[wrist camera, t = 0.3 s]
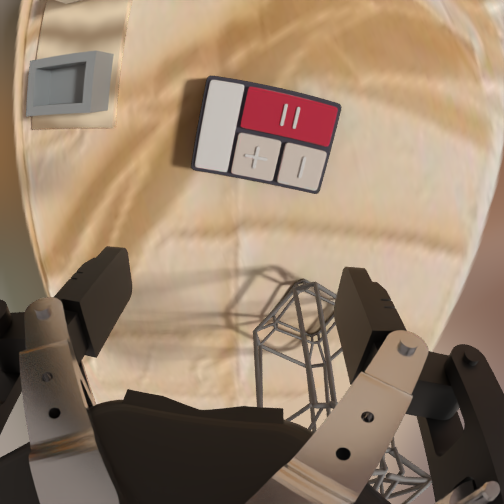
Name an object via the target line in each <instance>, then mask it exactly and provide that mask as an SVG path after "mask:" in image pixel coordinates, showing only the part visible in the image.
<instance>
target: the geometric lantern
mask: <svg viewBox="0 0 504 504" xmlns="http://www.w3.org/2000/svg"><path fill="white" fill-rule="evenodd" d="M302 282H303V285H300V286H298V284H300V283H302ZM305 283H307V284H305ZM312 286H313V287H314V290H315V293H313V292H311V291H309V290H308V289H309V288H310V287H312ZM319 290H322V291H323V292H325V293H327V294H328V295H330V296H332V297H333V298H335V299H336V296H337V295H336V294H334V293H333V292H331V291H330V290H328V289H326V288H325V287H323V286H322V285H320V284H318V283H317V282H309V281H307V280H305V279H302V280H300V281H298V282H296V283H295V284H294V285H293V287H292V288H291V290H290V291H289V292H288V294H287V295H286V296H285V297H284V298H283V300H282V301H281V302H280V303H279V304H278V305H277V306H276V307H275V308H274V309H273V310H272V311H271V312H270V314H269V315H268V316H267V317H266V318H265V319H264V320H263V321H262V322H261V323H260V324H259V325H258V326H257V327H256V328H255V329H254V331H253V341H254V360H255V379H256V397H257V407H262V408H263V385H262V349H265V350H267V351H269V352H271V353H273V354H276V355H278V356H280V357H282V358H284V359H287V360H289V361H291V362H293V363H296V364H298V365H300V366H303V367H305V368H306V373H307V382H308V391H309V401H310V403H309V404H308V405H306V406H305V407H303V408H302V409H301V410H299V411H298V412H296V413H295V414H293V415H292V416H291V417H289V418H287V419H286V420H287V421H291V420H293V419H294V418H296V417H297V416H299V415H300V414H301V413H303V412H304V411H306V410H307V409H309V408H310V411H311V422H312V423H311V425H310V426H309V428H308V429H309V430H310V431H311V429H312V432H313V433H315V432H316V421H317V419H318V417H319V415H320V414H321V412H322V410H323V408H326V411H327V417H328V416H329V414H330V413H331V412H330V408H333V409H334V408H335V407H336V405H337V404H338V402H337V400H336V392H335V385H334V377H333V370H332V364H331V361H332V360H333V359H334V358H335V357H336V356H337V355H338V354H340V353H341V352H342V347H341V348H340V349H339V350H338V351H337V352H336V353H334V354H333V355H332V356H331V357H330V351H329V345H328V339H327V334H328V333H329V332H330V331H331V329H332V328H333V327H334V326H335V325H336V322H334V323H333V325H332V326H331V327H330V328H329V329H328V330H327V332H326V326H327V324H328V323H329V322H330V321H331V320H332V319H333V317H334V314H333V315H332V316H331V317H330V318H329V320H328V321H327V322H326V323H325V321H324V315H323V310H322V304H321V299H322V300H324V301H326V302H328V303H330V304H332V305H335V303H334V302H332V301H330V300H328V299H326V298H324V297H322V296H320V293H319ZM304 291H305V292H307V293H309V294H311V295H313V296H316V302H317V308H318V314H319V320H320V327H321V329H320V330H319V331H318V332H317V333H314V334H312V335H311V334H309V333H306V332H305V328H304V323H303V318H302V313H301V307H300V302H299V298H298V294H299V293H300V292H304ZM292 295H293V298H292V299H291V300H290V302H289V303H288V304H287V306H286V307H285V308H284V310H283V311H282V312H281V314H280V315H279V316H278V317H277V319H276V317H275V314H276V313H277V312H278V310H279V309H280V308H281V307H282V305H283V304H284V303H285V302H286V301H287V300H288V299H289V298H290V297H291V296H292ZM293 301H295V306H296V311H297V317H298V323H299V328H300V330H299V329H297V328H295V327H292V326H290V325H288V324H285V323H283V322H281V321H278V320H279V319H280V318H281V316H282V315H283V314H284V313H285V311H286V310H287V309H288V307H289V306H290V305H291V304H292V302H293ZM271 317H273V323H271V324H268V325H266V326H264V324H265V323H266V322H267V321H268V320H269V319H270V318H271ZM278 323H279V324H282V325H284V326H286V327H289V328H291V329H293V330H296V331H298V332H300V334H301V337H299V336H296V335H294V334H291V333H289V332H286V331H283V330H281V329H278ZM270 326H274V329H273V330H272V331H271V332H270V333H269V334H268V335H267V336H266V337H265V338H264V340H263V341H262V342H261V343H260V340H259V337H258V335H257V332H258V331H260V330H262V329H265V328H268V327H270ZM275 330H277V331H279V332H282V333H284V334H287V335H290V336H292V337H295V338H297V339H300V340H302V346H303V352H304V358H305V364H304V363H302V362H300V361H297V360H295V359H293V358H291V357H289V356H286V355H284V354H282V353H280V352H278V351H275V350H273V349H271V348H269V347H267V346H265V345H263V343H264V342H265V341H266V340H267V339H268V338H269V337H270V336H271V335H272V333H273V332H274V331H275ZM320 333H322V337H321V338H320V335H319V334H320ZM306 335H307V336H310V337H311V341H310V340H307V339H306ZM315 335H317V336H318V341H315V342H313V336H315ZM322 340H323V346H324V353H325V358H324V355H323V352H322V349H321V345H320V342H321V341H322ZM307 342H308V343H311V348H310V353H309V350H308V344H307ZM314 344H318V347H319V350H320V353H321V357H322V360H323V363H321V364H314V365H311V361H310V360H311V355H312V350H313V345H314ZM325 360H326V361H325ZM316 367H323V369H324V383H325V396H326V403H318V402H317V396H316V390H315V384H314V378H313V372H312V368H316ZM328 382H329V387H328ZM329 388H330V395H331V401H330V400H329ZM314 408H320V409H319V411H318V412H317V415H316V416H315V412H314ZM391 445H392V448H389V447H388V448H387V450H386V452H385V453H389V454H390V455H392V456H393V457H394V458H396V461H397V464H398V467H399V470H400V471H399V473H398V474H397V475H396V474H392V473H388V474H387V475H386V478H384V476H385V474H386V473H387V470H388V467H387V465H386V462H385V454H384V456H383V457H382V459H381V461H380V469H375V471H374V473H373V474H372V475H373V476H374V475H378V477H377V478H375V479H372V480H369V481H368V483H369V484H373V483H375V484H374V486H373V488H374V489H375V490H376V491H378V489H379V487H380V493H381V495H382V496H383V497H384V498H385V499H390V498H394V497H397V496H400V495H404V494H407V493H410V492H413V491H416V490H417V491H416V492H415V493H414V494H413V495H412V496H411V497H409V498H408V499H407V500H406V501H405V502H403V503H402V504H409V503H410V502H411V501H413V500H414V499H415V498H416V497H417V496H419V495H420V494H421V493H422V492H423V491H424V490H425V489H427V488H428V487H429V486H430V484H431V483H432V480H431V476H430V475H428V474H427V473H425V472H424V471H422V470H421V469H419V468H418V467H417V466H416V465H414V464H413V463H411V462H410V461H409V460H407V459H406V458H404V457H403V456H402V455H400V454H399V453H398V451H397V448H396V447H395V444H394V437H393V439H392V441H391ZM402 463H403V464H404V465H406V466H407V467H408V468H410V469H411V470H413V471H414V472H416V473H417V474H418V475H420V476H421V477H404V476H403V475H404V473H405V471H404V468H403V465H402ZM422 477H423V478H422ZM383 482H386V483H391V485H390V486H389V488H388V489H387V491H386V492H385V493H384V489H383ZM397 484H404V485H414V487H411V488H408V489H405V490H402V491H398V492H395V493H392V491H393V490H394V488H395V487H396V485H397ZM391 493H392V494H391Z"/></svg>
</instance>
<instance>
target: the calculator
mask: <svg viewBox="0 0 504 504" xmlns="http://www.w3.org/2000/svg"><path fill="white" fill-rule="evenodd" d="M340 112H341V105H340V104H338V103H335V102H332V101H328V100H325V99H321V98H318V97H314V96H310V95H306V94H302V93H298V92H294V91H290V90H286V89H282V88H277V87H273V86H268V85H263V84H258V83H253V82H248V81H242V80H237V79H231V78H225V77H218V76H209V77H208V78H207V80H206V85H205V90H204V95H203V100H202V106H201V111H200V116H199V122H198V127H197V133H196V139H195V145H194V151H193V157H192V163H191V168H192V169H193V170H196V171H202V172H208V173H214V174H220V175H225V176H231V177H236V178H241V179H247V180H252V181H257V182H262V183H267V184H272V185H277V186H281V187H286V188H291V189H295V190H300V191H304V192H309V193H313V194H317V193H319V191H320V188H321V184H322V181H323V177H324V173H325V170H326V166H327V162H328V159H329V155H330V151H331V147H332V143H333V140H334V136H335V132H336V128H337V124H338V120H339V116H340Z"/></svg>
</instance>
